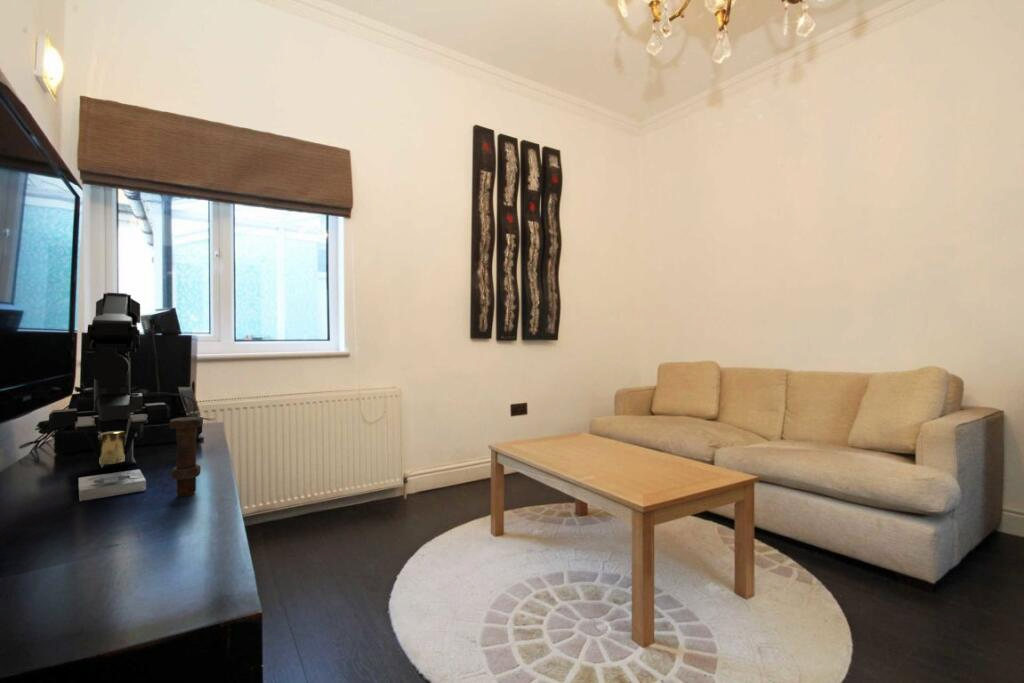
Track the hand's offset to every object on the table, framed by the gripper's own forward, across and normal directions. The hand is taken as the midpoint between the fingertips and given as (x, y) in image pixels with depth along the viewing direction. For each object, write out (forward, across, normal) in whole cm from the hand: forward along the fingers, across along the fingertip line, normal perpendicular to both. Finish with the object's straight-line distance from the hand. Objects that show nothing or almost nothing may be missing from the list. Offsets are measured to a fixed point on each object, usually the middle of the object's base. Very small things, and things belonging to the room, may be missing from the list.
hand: (112, 456), depth 98 cm
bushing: (+1, 0, 0) cm, 1 cm away
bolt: (+7, +10, -15) cm, 20 cm away
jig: (+7, 0, 0) cm, 7 cm away
